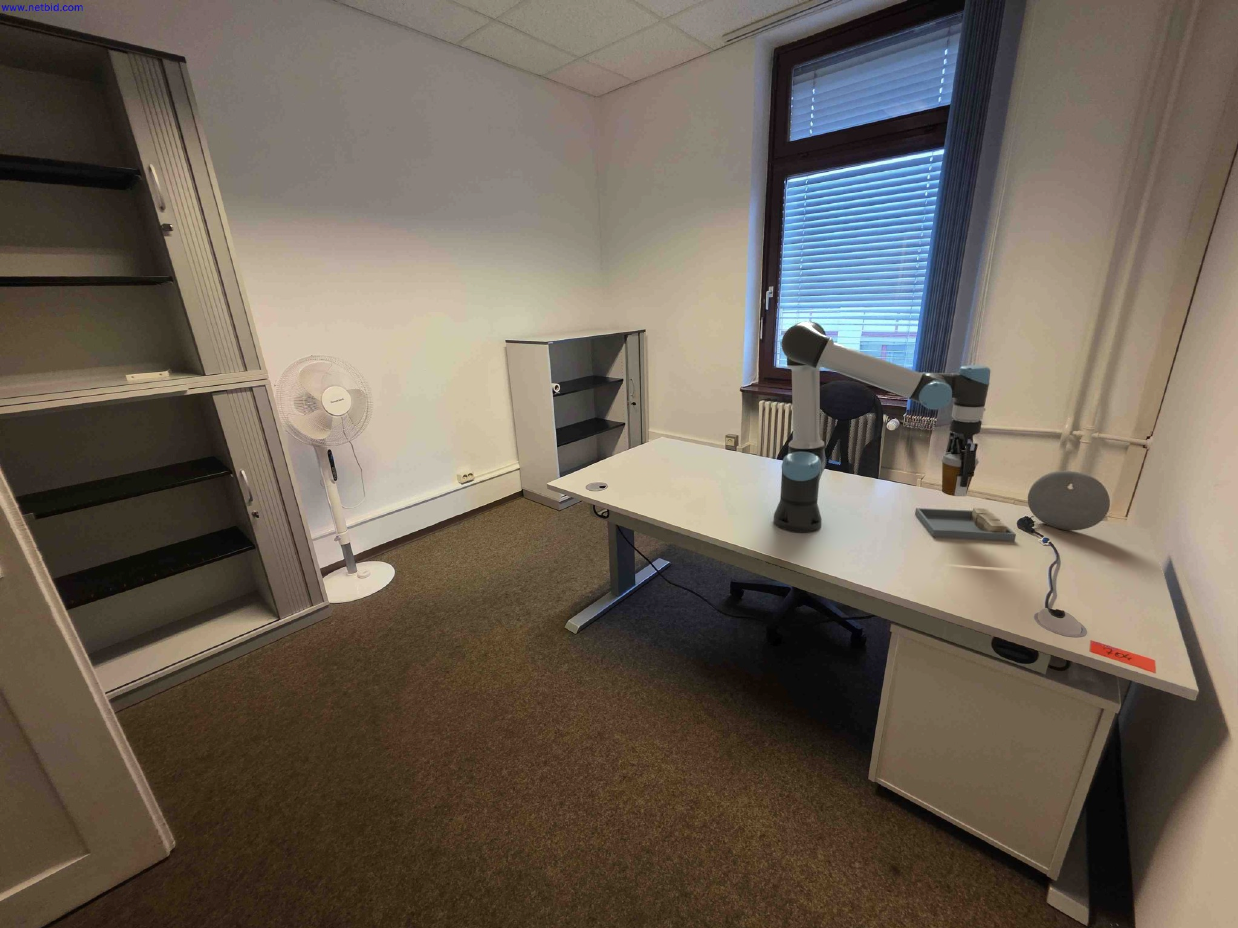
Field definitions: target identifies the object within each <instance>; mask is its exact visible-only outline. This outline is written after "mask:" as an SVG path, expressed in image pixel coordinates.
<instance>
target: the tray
mask: <svg viewBox="0 0 1238 928" xmlns="http://www.w3.org/2000/svg"><path fill="white" fill-rule="evenodd" d="M972 512H973V509H972V510H970V509H969V510H967V509H965V510H964V509H948V508H947V509H945V508H943V509H941V508H922V507H921V508H919V507H915V511H914V515H915V517H916V518H917V519H918V521H919V522H920V523H921V525H922V526H923V528H925V530H926V531H927V532H928V533H929V535H930V536H931V537H932V538H940V539H943V538H944V539H956V540H958V539H959V540H960V539H961V540H974V541H992V542H993V541H994V542H995V541H996V542H1012V543H1015V541H1016V536H1017V533H1015V532H1014V531H1013V530H1012V529H1011V528H1009V527H1008V526H1007V529H1006V533H1003V532H984V531H983V530H981V529H980V528H978V527H977V526H976V524H974V523H973V521H972V520H971V518H972ZM992 515H994V516H996V515H995V514H993V513H992Z"/></svg>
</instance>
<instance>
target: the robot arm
mask: <svg viewBox="0 0 1238 928" xmlns="http://www.w3.org/2000/svg"><path fill="white" fill-rule="evenodd" d="M781 350H782V352H783V354H784V355H785V357H786V366H787V367H788V368H789V369H790V370H791V389H792V390H791V392H792V394H791V396H792V406H791V407H792V439H791V440H790V441H789V442H788V453H787V454H786V455H785V456H784V457H783V459H782V463H781V482H780V483H781V484H780V496H779V497H780V499H779V502H778V505H777V507H776V509H775V511H774V513H773V523H774V525H775V526H777V527H778V528H780V529H782V530H783V531H784V530H785V531H787V532H793V533H801V534H802V533H812V532H815V531H818V530H819V529H820V528H821V527H822V520H823V519H822V516H821V512H820V508H819V505H818V499H819V487H820V481H821V478H822V475H823V473H824V470H825V469H826V465H827V457H826V454H825V441H823V440H822V439H821V438H820V436H821V435H820V431H821V428H820V423H821V422H820V421H821V419H820V414H821V413H820V412H821V411H820V409H821V408H820V406H821V405H820V402H821V400H820V397H821V396H820V395H821V394H820V390H821V389H820V370H821V368H824V369H828V370H829V371H833V372H835V373H838V374H841V375H844V376H846V377H849V378H852V379H855V380H858V381H860V382H863V383H865V384H868V385H871V386H872V387H873V386H874V387H877V388H879V389H882V390H884V391H888V392H889V393H893V394H895V395H898V396H900V397H904V398H905V399H906V398H907V399H909V400H911V401H914V402H916V403H919V404H921V406H923V407H925V408H926V409H928V410H932V411H933V410H940V409H943V408H944V407H946V406H947V405H948V404H949V403H950V402H951V400H954V402H953V406H952V410H951V419H950V423H949V431H950V432H949V434H948V435H949V436H948V443H947V445H946V450H945V453H947V452H951V454H959V455H960V460H961V467H960V474H957V476H958V478H957V483H956V489H955V496H954V497H966V496H967V494H966V491H967V486H968V480H969V477H972V478H973V477H975V476H974V475H975V471H974V469H975V470H976V468H975V459H976V456H977V451H978V446H979V445H978V443H974V436H975V435H977V434H978V435H979V434H980V432H981V429H982V423H983V421H982V419H983V417H984V413H985V412H986V408H985V406H986V402H987V398H988V397H987V396H988V392H989V388H990V387H989V386H990V384H991V383H990V378H991V369H990V368H989V367H988V366H985V365H962V366H961V367H959V370H958V371H957V372H951V373H950V372H949V373H948V372H946V373H945V372H926V371H924V372H919V371H915V370H913V369H910V368H908V367H904V366H901V365H899V364H896V363H894V362H890V361H887V360H885V359H882V358H879V357H876V356H873V355H871V354H868V353H865V352H862V351H859V350H857V349H853V348H851V347H848V346H845V345H842V344H839V343H836V342H834V339H833V337H830V336H827V334H826V331H825V329H824V328H823V327H822V326H821V325H820V324H819V323H818V322H816V321H815V322H814V321H808V320H805V321H800V322H799V323H796V324H794V325H791V327H788V329H787V330H786V331H785V332H784V334H783V335H782V339H781ZM963 460H964V461H963ZM967 492H968V491H967Z"/></svg>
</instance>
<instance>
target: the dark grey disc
mask: <svg viewBox="0 0 1238 928" xmlns="http://www.w3.org/2000/svg"><path fill="white" fill-rule="evenodd" d="M1070 485H1071V487H1072V488H1069V486H1070ZM1110 499H1111V498H1110V496H1109V493H1108V490H1107V489H1106V487H1105V486H1104V485H1103V483H1102V482H1100V480H1098V479H1096V478H1095V477H1093V476H1091V475H1089V474H1086V473H1082V472H1078V471H1071V470H1058V471H1057V470H1056V471H1052V472H1048V473H1046V474H1044V475H1042V476H1041V477H1039V478H1038V479H1037V480H1035V481H1034V483H1033V484H1032V485H1031V487H1030V489H1029V491H1028V493H1027V504H1028V508H1029V510H1030V512H1031V514H1033V516H1035V518H1036V519H1038V520H1039V521H1040V522H1042V523H1043V524H1045V525H1047V526H1049V527H1052V528H1055V529H1059V530H1061V531H1062V530H1063V531H1081V530H1086V529H1089V528H1092V527H1095V526H1097V525H1098V524H1099V523H1101V522H1102V521H1103V520H1104V519H1105V518H1106V516H1107V515H1108V512H1109V511H1110V507H1111V506H1110V504H1111V500H1110Z"/></svg>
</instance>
